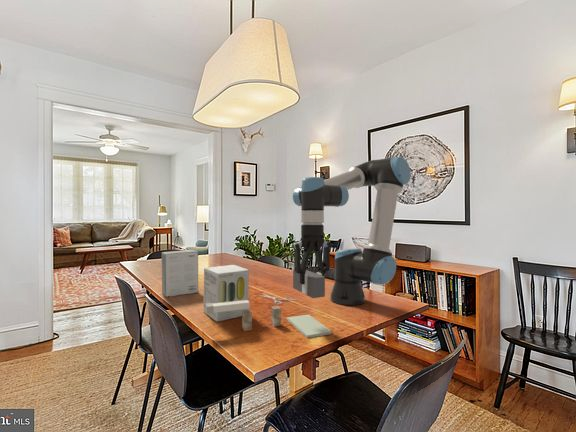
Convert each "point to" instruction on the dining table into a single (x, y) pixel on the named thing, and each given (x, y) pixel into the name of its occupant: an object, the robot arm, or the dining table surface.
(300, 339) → the dining table surface
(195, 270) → the hard drive box
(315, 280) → the dark gray rectangular block
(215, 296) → the supplement box
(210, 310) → the strap
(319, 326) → the mat
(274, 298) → the scissors
